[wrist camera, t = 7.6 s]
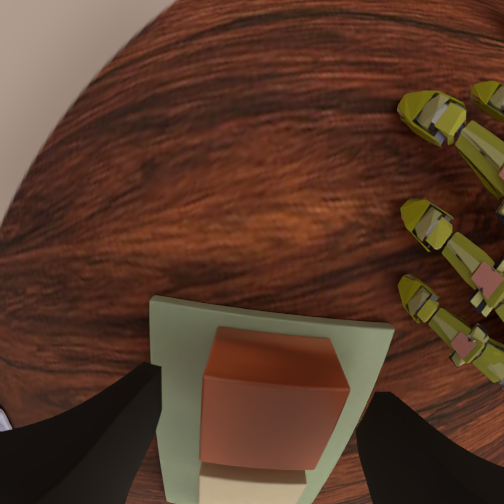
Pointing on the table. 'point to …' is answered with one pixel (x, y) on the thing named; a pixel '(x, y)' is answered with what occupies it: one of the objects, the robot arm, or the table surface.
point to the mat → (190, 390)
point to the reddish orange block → (269, 399)
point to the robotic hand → (439, 229)
